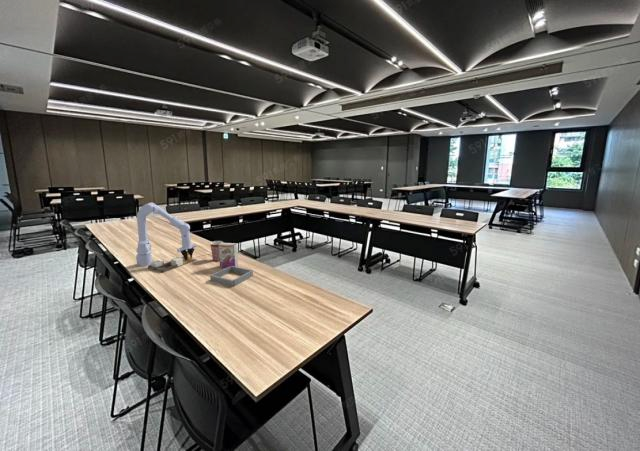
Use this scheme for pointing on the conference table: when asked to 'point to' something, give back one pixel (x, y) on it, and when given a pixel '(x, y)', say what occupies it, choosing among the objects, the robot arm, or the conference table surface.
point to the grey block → (156, 263)
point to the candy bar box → (228, 254)
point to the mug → (215, 250)
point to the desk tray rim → (218, 279)
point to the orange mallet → (179, 260)
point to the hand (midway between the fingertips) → (188, 259)
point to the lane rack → (168, 266)
